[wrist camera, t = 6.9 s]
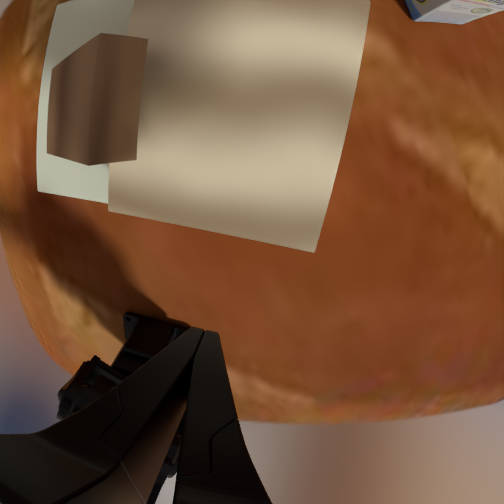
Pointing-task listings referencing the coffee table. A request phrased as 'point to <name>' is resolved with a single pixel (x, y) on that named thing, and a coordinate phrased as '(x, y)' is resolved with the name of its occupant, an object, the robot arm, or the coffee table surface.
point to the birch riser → (242, 114)
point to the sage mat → (59, 47)
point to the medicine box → (452, 10)
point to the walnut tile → (97, 101)
